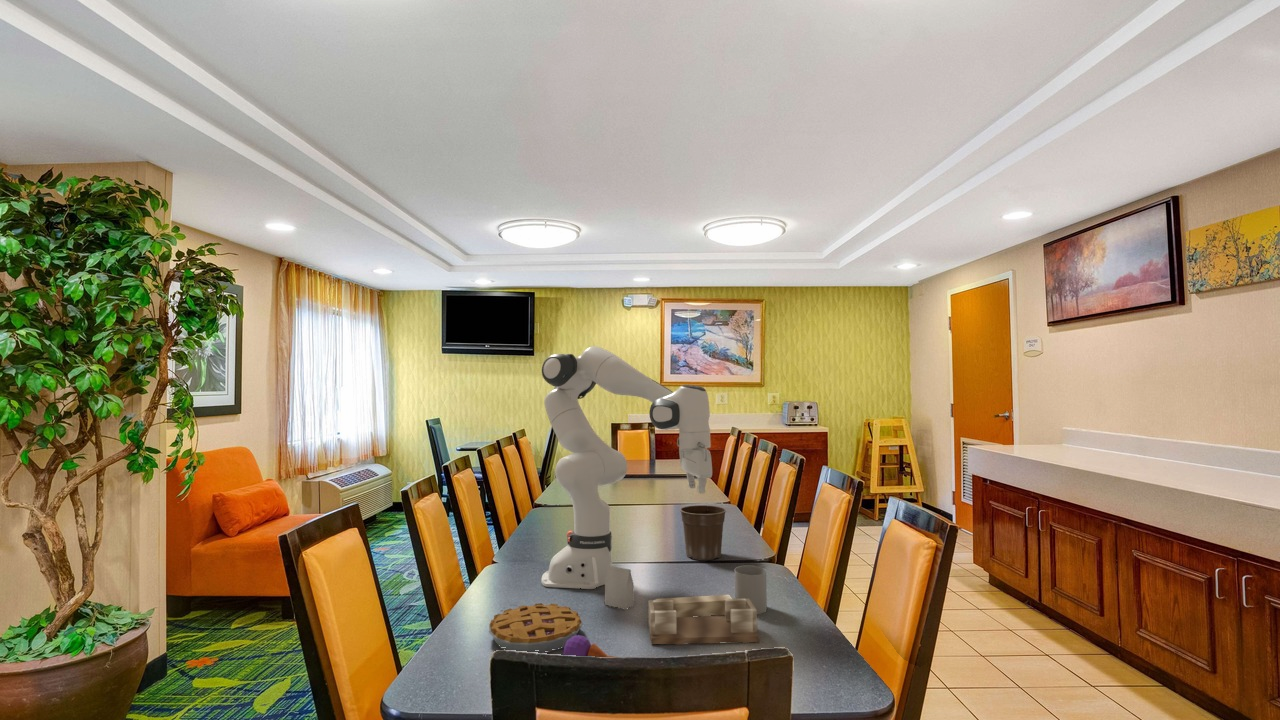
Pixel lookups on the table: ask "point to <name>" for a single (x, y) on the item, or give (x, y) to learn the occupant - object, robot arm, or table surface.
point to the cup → (751, 586)
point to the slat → (699, 605)
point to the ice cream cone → (582, 647)
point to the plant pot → (703, 531)
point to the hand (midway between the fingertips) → (696, 490)
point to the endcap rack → (703, 624)
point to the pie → (535, 627)
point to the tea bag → (619, 587)
